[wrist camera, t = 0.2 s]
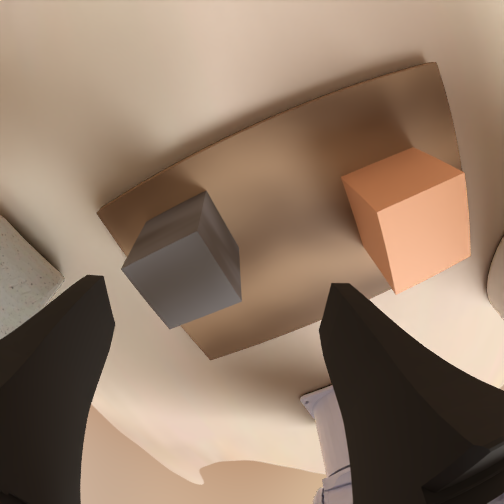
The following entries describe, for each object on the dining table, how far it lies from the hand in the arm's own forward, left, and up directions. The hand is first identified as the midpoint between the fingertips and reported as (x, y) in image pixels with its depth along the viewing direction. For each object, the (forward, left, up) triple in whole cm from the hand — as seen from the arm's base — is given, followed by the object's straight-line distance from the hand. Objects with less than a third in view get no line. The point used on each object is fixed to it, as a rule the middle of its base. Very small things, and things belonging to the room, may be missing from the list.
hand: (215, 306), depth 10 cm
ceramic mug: (+3, +17, -10) cm, 20 cm away
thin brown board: (-4, -4, -10) cm, 11 cm away
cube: (-4, -9, -9) cm, 13 cm away
